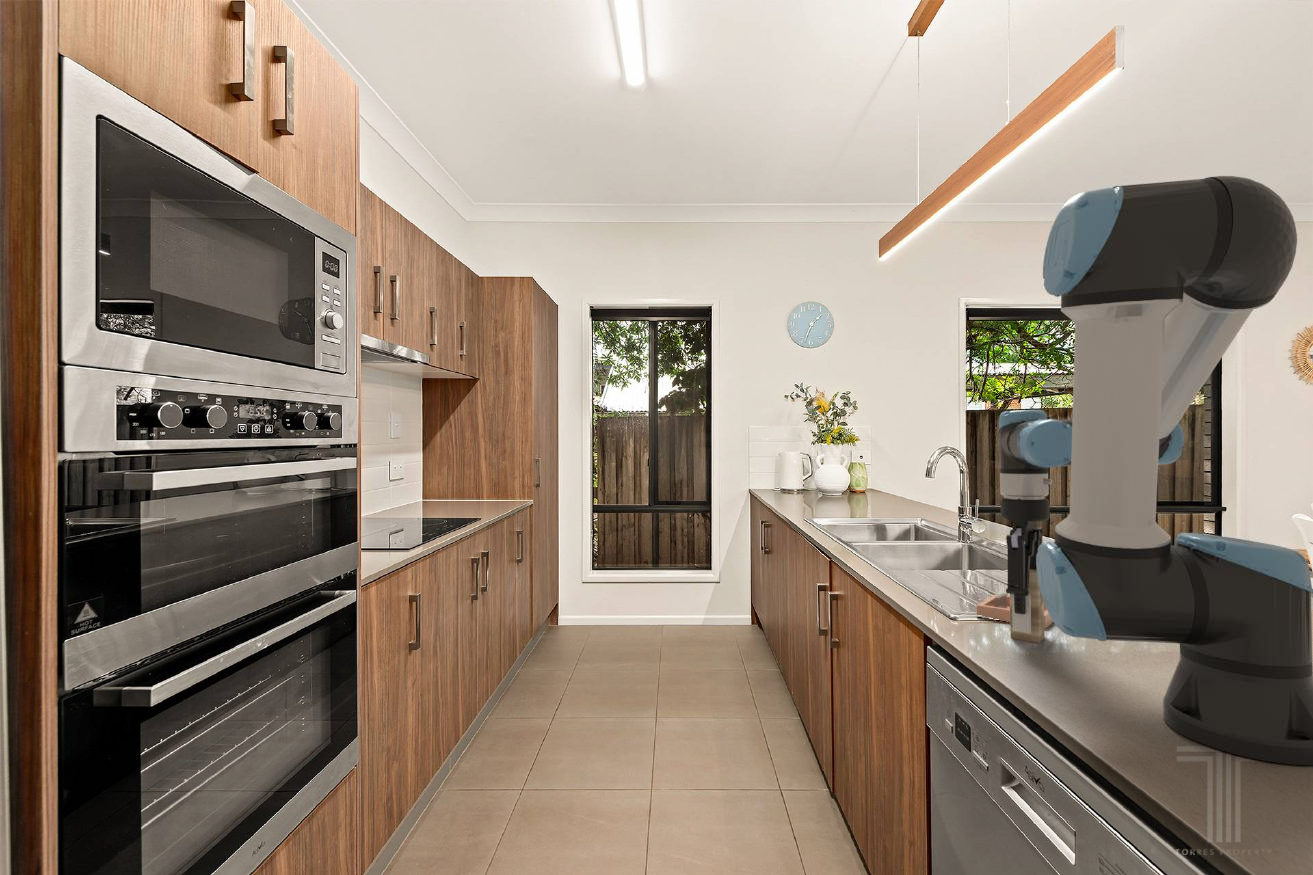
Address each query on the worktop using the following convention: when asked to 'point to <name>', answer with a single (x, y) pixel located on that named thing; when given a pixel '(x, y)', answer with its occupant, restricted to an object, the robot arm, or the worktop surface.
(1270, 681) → the robot arm
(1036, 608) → the tan wooden block
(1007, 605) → the candle dish
